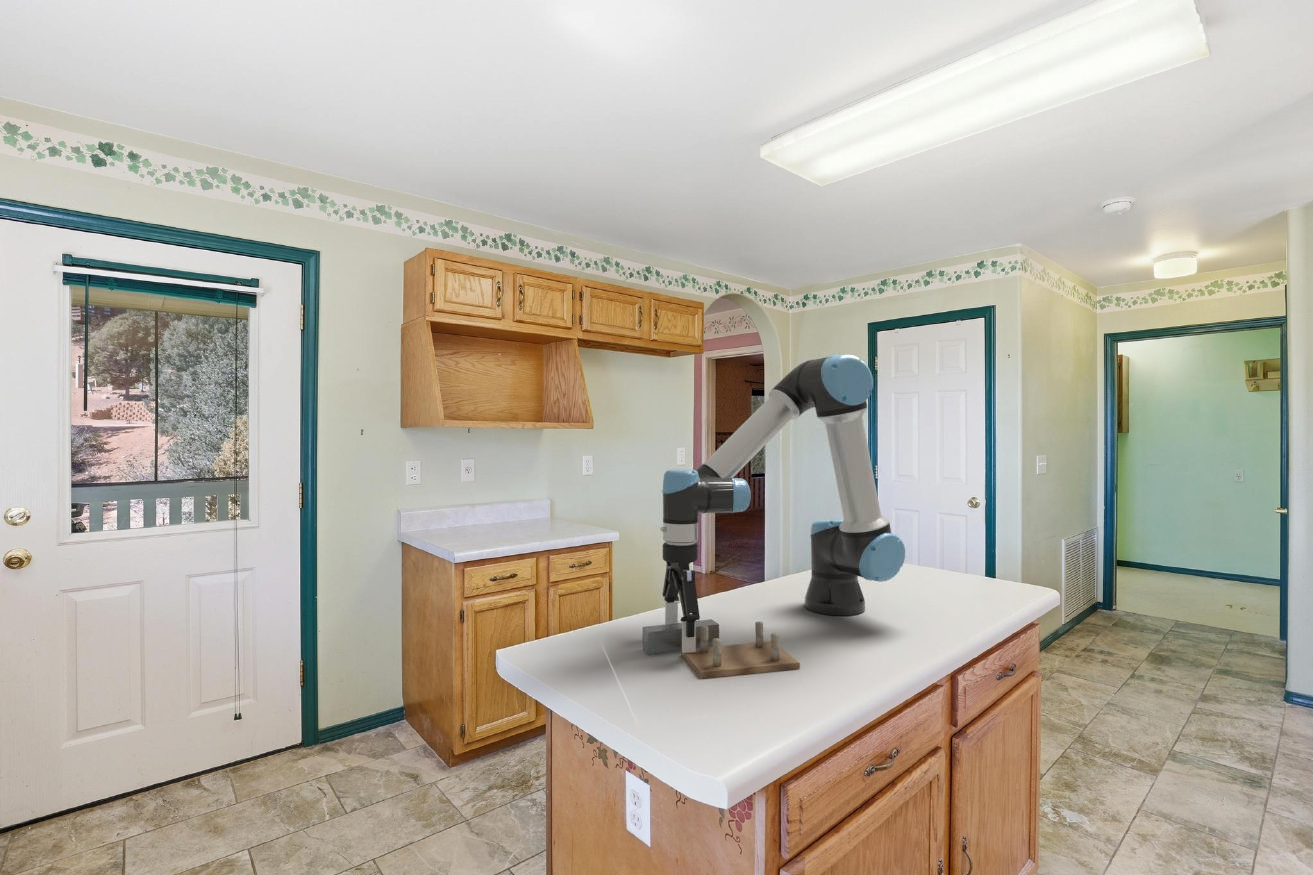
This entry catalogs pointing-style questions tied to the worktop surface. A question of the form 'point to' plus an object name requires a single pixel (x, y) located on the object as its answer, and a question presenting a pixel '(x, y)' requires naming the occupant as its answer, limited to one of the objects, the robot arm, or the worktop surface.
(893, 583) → the worktop surface
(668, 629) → the steel bar
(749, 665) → the peg rack
